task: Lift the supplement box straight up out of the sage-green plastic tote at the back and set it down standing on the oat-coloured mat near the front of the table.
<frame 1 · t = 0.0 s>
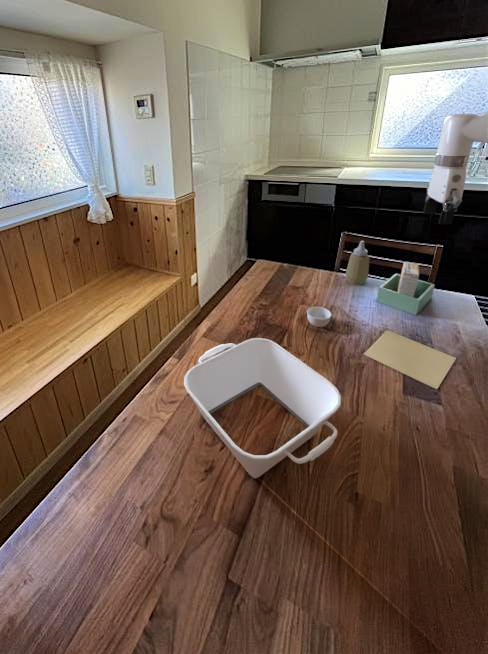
hand: (436, 218, 102), 33 cm above the table, tool pointing down, fingers open, 9 cm apart
tub: (257, 427, 78), on the table
teacup: (317, 324, 111), on the table
mat: (408, 358, 95), on the table
squeeze bottle: (355, 283, 134), on the table
tote: (403, 301, 120), on the table
supplement box: (403, 300, 120), resting on tote
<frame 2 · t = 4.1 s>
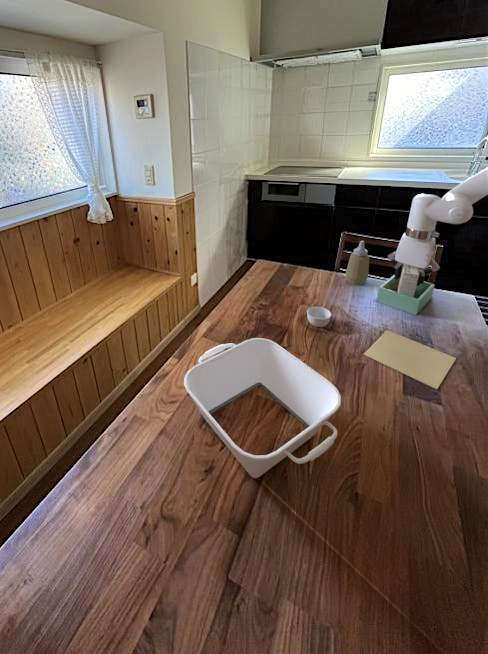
hand: (408, 280, 117), 8 cm above the table, tool pointing down, fingers closed on supplement box, 6 cm apart
supplement box: (403, 300, 120), resting on tote, touching gripper
everything else where it was.
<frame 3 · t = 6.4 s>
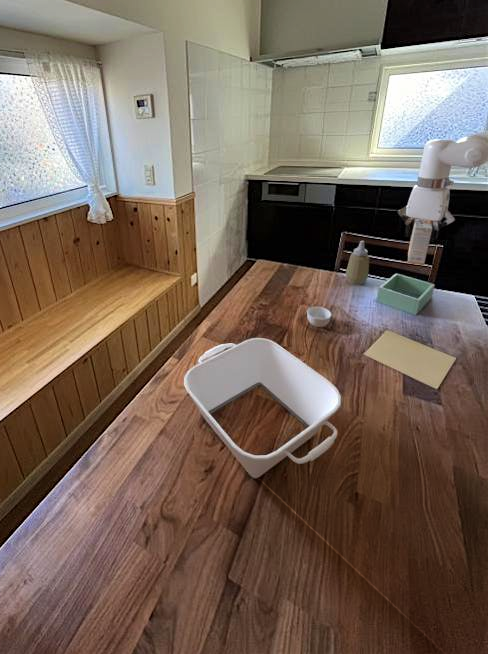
hand: (420, 237, 109), 25 cm above the table, tool pointing down, fingers closed on supplement box, 6 cm apart
supplement box: (415, 260, 112), point 17 cm above the table, touching gripper
everything else where it was.
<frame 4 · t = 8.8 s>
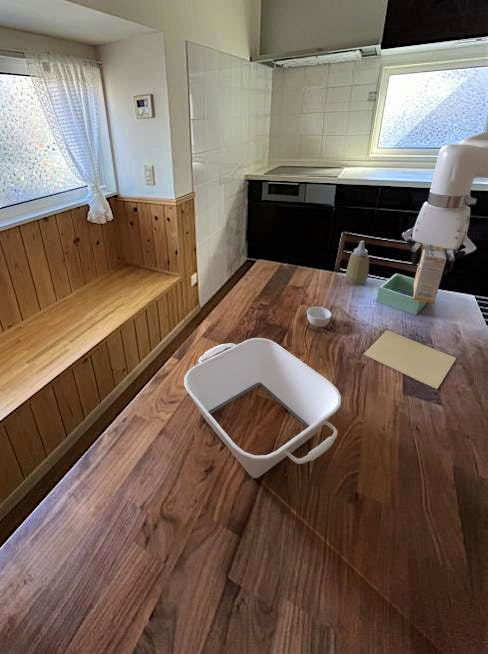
hand: (429, 267, 86), 27 cm above the table, tool pointing down, fingers closed on supplement box, 6 cm apart
supplement box: (422, 295, 89), point 19 cm above the table, touching gripper
everything else where it was.
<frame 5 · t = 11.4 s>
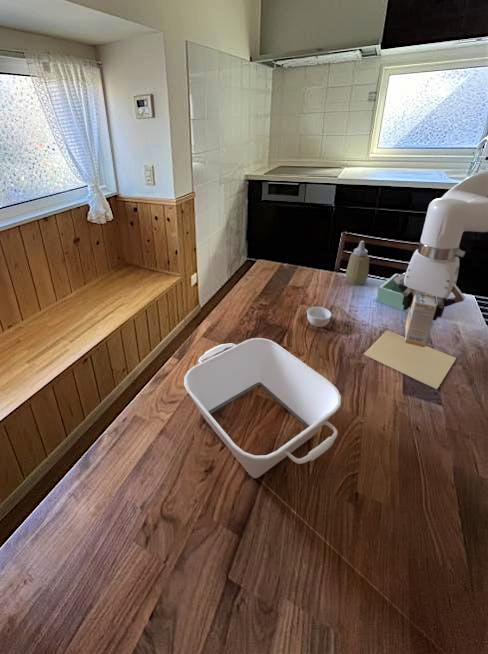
hand: (420, 312, 88), 16 cm above the table, tool pointing down, fingers closed on supplement box, 6 cm apart
supplement box: (414, 337, 92), point 7 cm above the table, touching gripper
everything else where it was.
when the fingers open (9 cm above the table, at t = 13.5 s): supplement box stays where it is, resting on mat.
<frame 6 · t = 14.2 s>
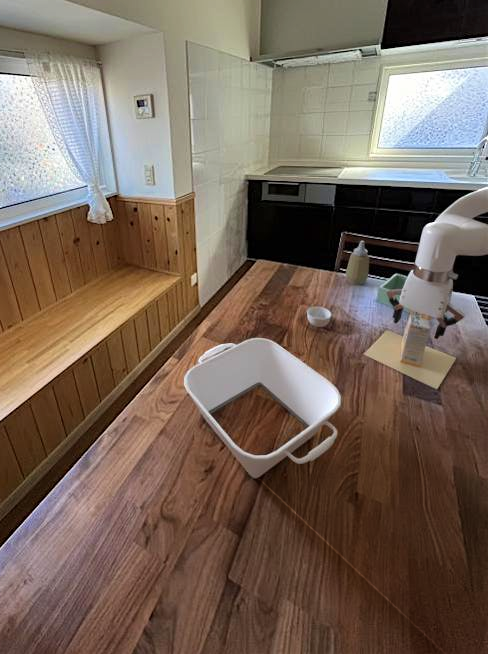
hand: (416, 328, 90), 10 cm above the table, tool pointing down, fingers open, 9 cm apart
supplement box: (409, 356, 94), point 1 cm above the table, touching mat
everything else where it was.
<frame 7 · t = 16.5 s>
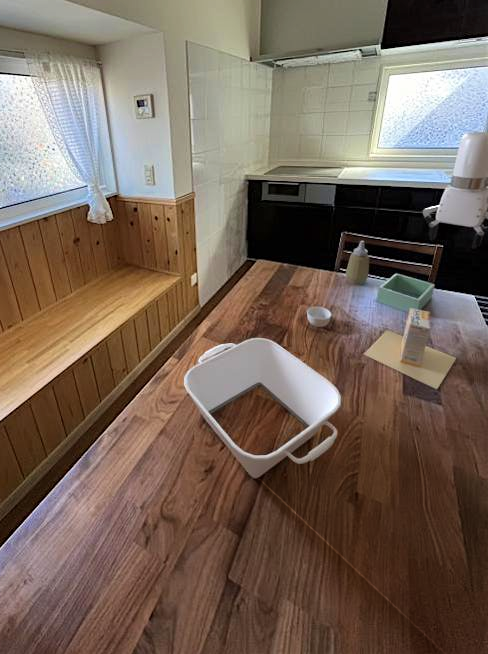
hand: (452, 243, 95), 29 cm above the table, tool pointing down, fingers open, 9 cm apart
nothing on the table moved.
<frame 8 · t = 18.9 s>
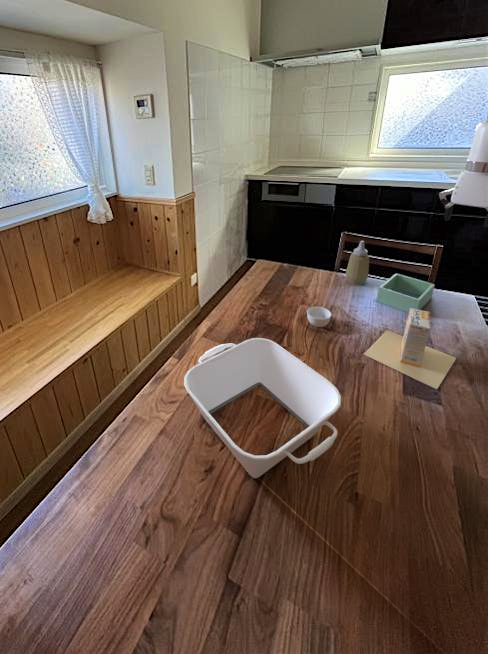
hand: (465, 223, 104), 30 cm above the table, tool pointing down, fingers open, 9 cm apart
nothing on the table moved.
at the end: supplement box inside the target area on the mat (0.1 cm from its centre), point 0.8 cm above the mat's base; supplement box tilted 0°; supplement box touching mat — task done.
